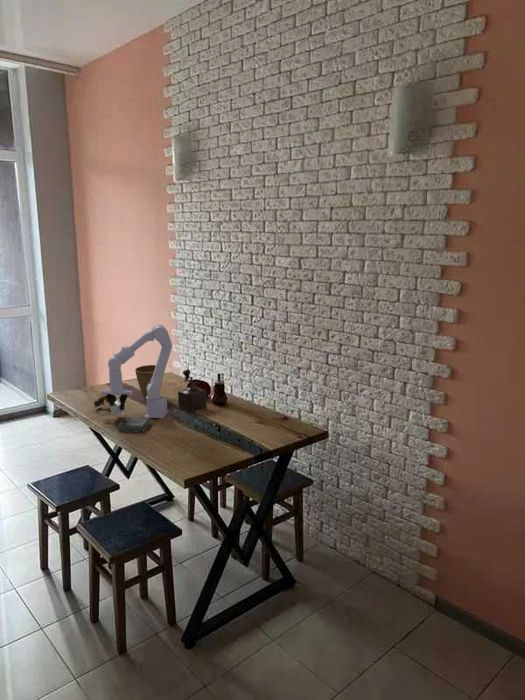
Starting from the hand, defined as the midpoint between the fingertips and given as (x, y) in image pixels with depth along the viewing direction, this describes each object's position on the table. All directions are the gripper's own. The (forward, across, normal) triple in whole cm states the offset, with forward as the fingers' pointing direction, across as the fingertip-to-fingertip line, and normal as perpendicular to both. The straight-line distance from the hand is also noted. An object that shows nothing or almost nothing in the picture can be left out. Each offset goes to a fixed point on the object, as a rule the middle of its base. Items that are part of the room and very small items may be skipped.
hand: (117, 409), depth 256 cm
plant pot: (+5, +5, +34) cm, 35 cm away
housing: (+2, 0, 0) cm, 2 cm away
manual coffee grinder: (+5, +30, +20) cm, 36 cm away
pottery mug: (+5, -11, +13) cm, 17 cm away
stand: (+4, +12, -11) cm, 17 cm away
